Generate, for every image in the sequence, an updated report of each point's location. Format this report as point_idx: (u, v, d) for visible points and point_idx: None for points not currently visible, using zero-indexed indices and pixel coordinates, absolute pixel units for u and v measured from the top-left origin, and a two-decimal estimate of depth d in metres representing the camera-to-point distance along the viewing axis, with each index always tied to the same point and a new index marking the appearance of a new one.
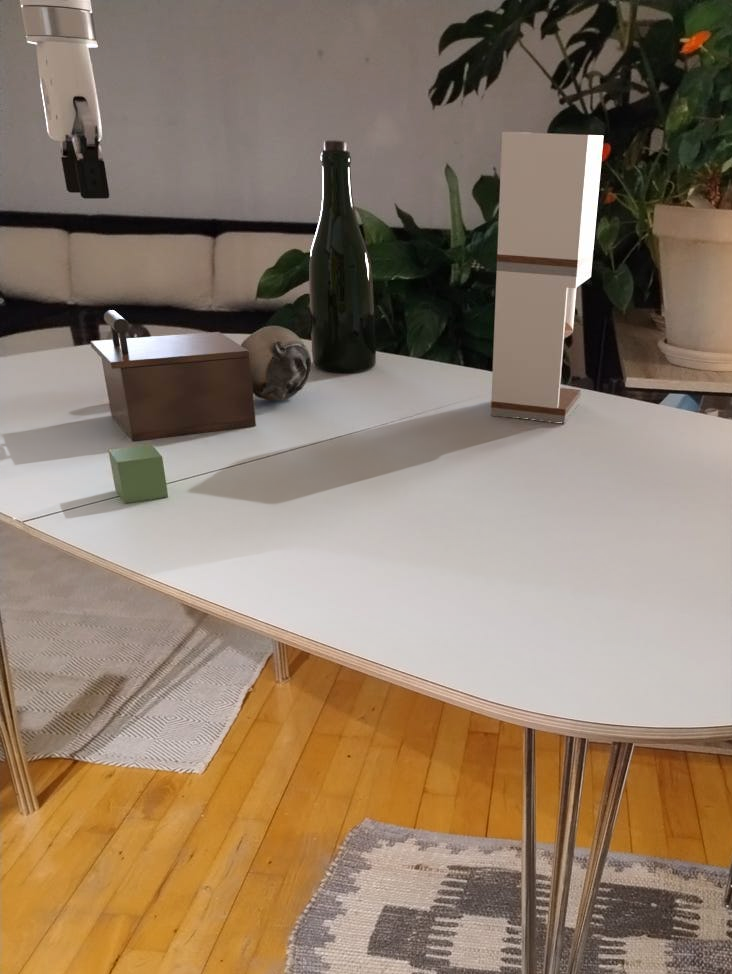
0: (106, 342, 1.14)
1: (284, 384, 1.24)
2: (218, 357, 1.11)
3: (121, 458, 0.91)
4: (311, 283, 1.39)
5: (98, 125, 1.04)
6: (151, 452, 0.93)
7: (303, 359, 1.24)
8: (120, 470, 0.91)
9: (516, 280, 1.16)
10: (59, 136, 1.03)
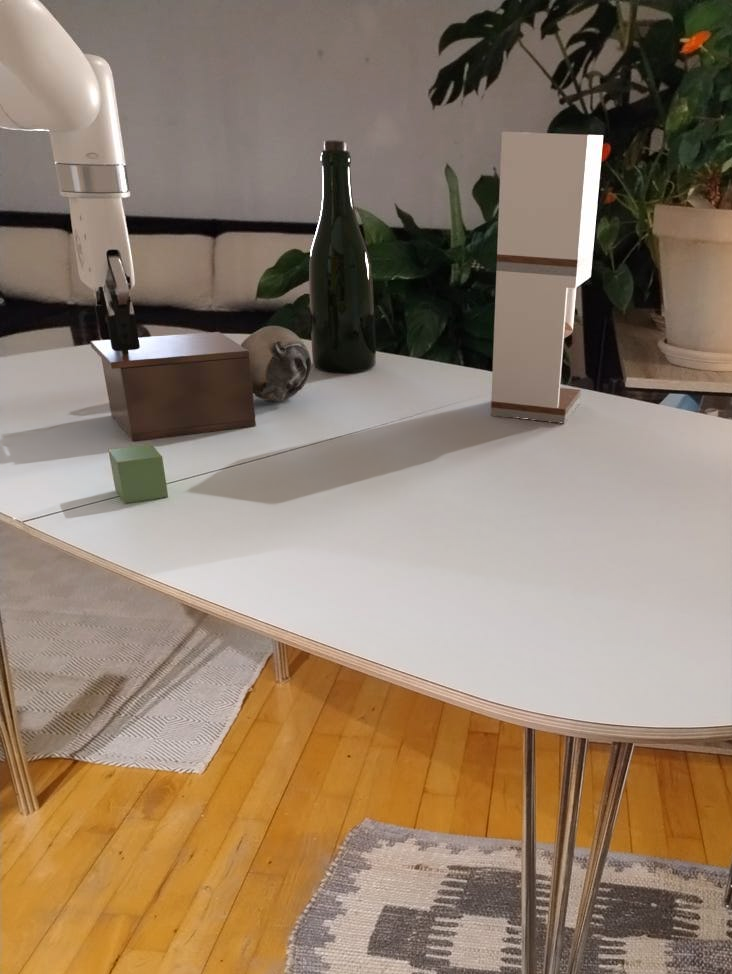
0: (106, 342, 1.14)
1: (284, 384, 1.24)
2: (218, 357, 1.11)
3: (121, 458, 0.91)
4: (311, 283, 1.39)
5: (131, 275, 1.03)
6: (151, 452, 0.93)
7: (303, 359, 1.24)
8: (120, 470, 0.91)
9: (516, 280, 1.16)
10: (92, 287, 1.03)
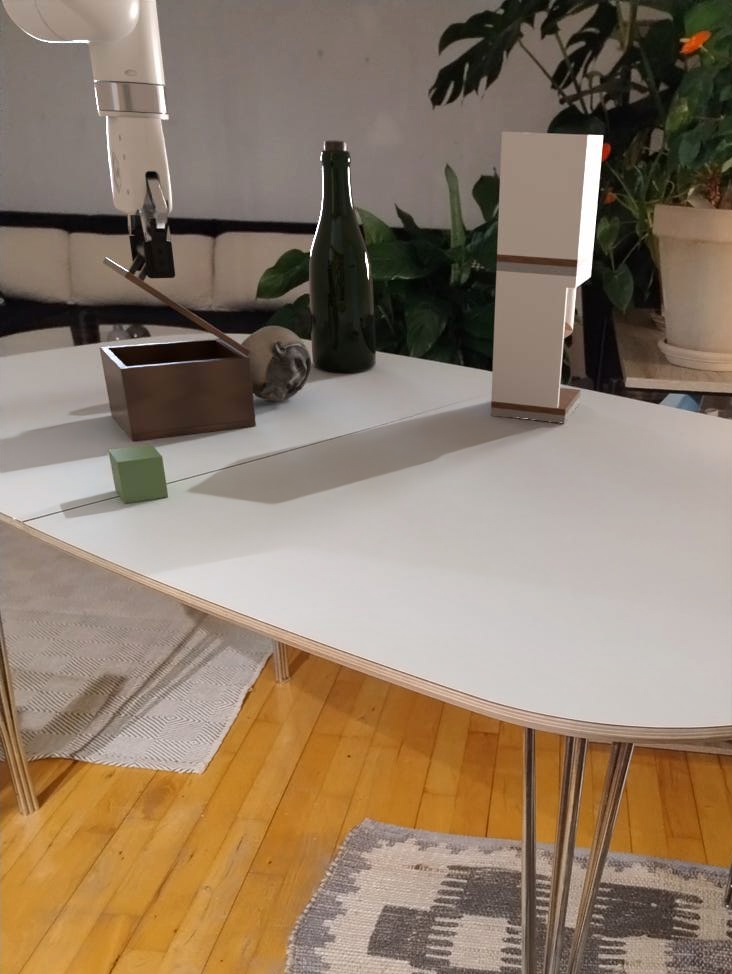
0: None
1: (284, 384, 1.24)
2: (222, 337, 1.10)
3: (121, 458, 0.91)
4: (311, 283, 1.39)
5: (169, 199, 1.02)
6: (151, 452, 0.93)
7: (303, 359, 1.24)
8: (120, 470, 0.91)
9: (516, 280, 1.16)
10: (129, 210, 1.01)
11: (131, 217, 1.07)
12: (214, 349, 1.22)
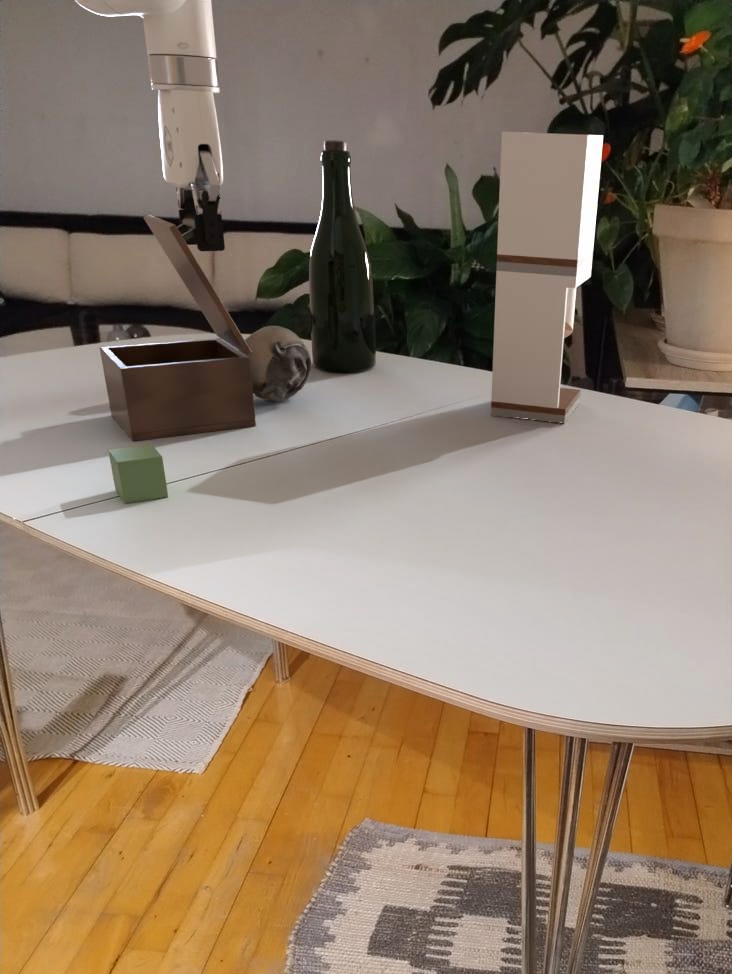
0: None
1: (284, 384, 1.24)
2: (231, 326, 1.10)
3: (121, 458, 0.91)
4: (311, 283, 1.39)
5: (220, 172, 1.03)
6: (151, 452, 0.93)
7: (303, 359, 1.24)
8: (120, 470, 0.91)
9: (516, 280, 1.16)
10: (182, 183, 1.03)
11: (181, 191, 1.09)
12: (214, 349, 1.22)
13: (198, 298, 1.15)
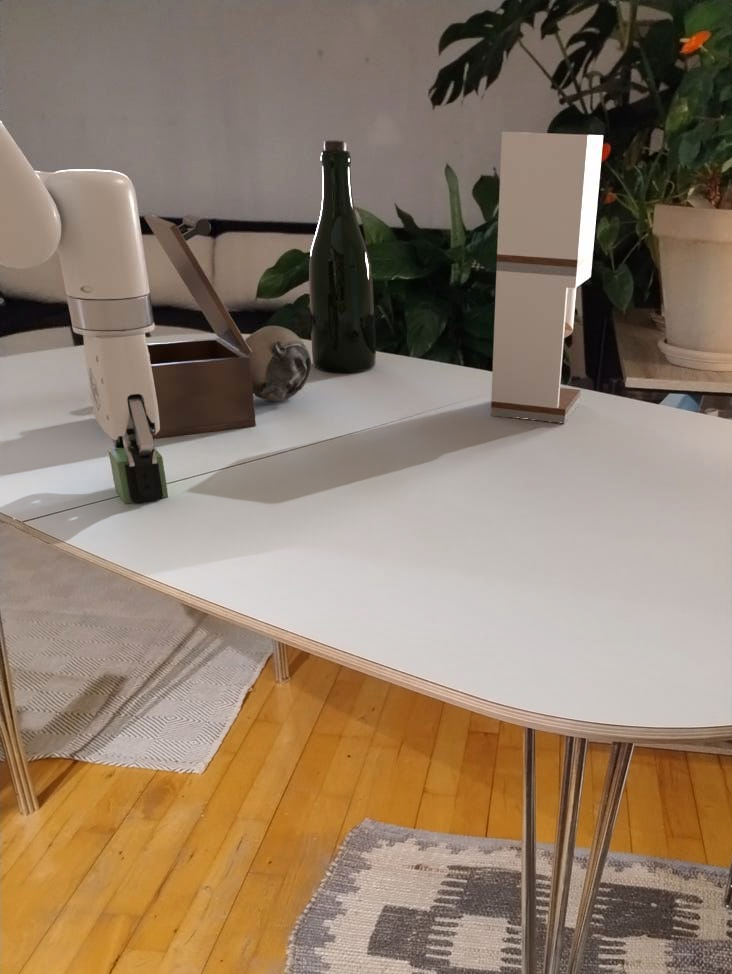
0: None
1: (284, 384, 1.24)
2: (231, 326, 1.10)
3: (121, 458, 0.91)
4: (311, 283, 1.39)
5: (156, 421, 0.88)
6: None
7: (303, 359, 1.24)
8: (120, 470, 0.91)
9: (516, 280, 1.16)
10: (110, 436, 0.87)
11: None
12: (214, 349, 1.22)
13: (198, 298, 1.15)
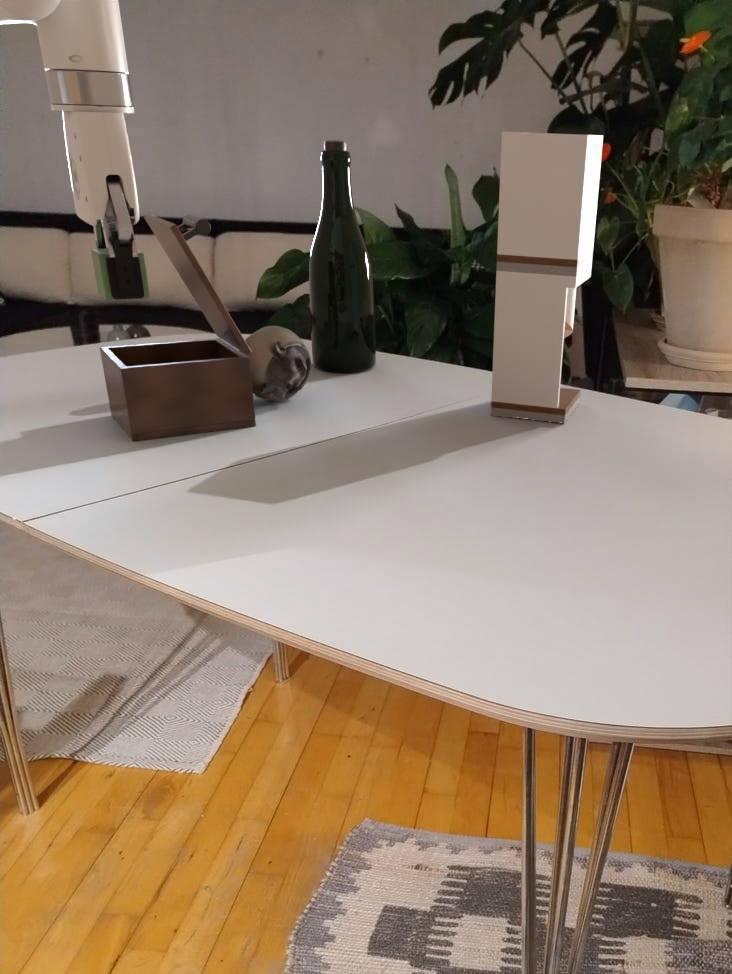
0: None
1: (284, 384, 1.24)
2: (231, 326, 1.10)
3: (103, 252, 0.91)
4: (311, 283, 1.39)
5: (135, 207, 0.88)
6: None
7: (303, 359, 1.24)
8: (101, 263, 0.91)
9: (516, 280, 1.16)
10: (89, 221, 0.87)
11: (97, 228, 0.93)
12: (214, 349, 1.22)
13: (198, 298, 1.15)
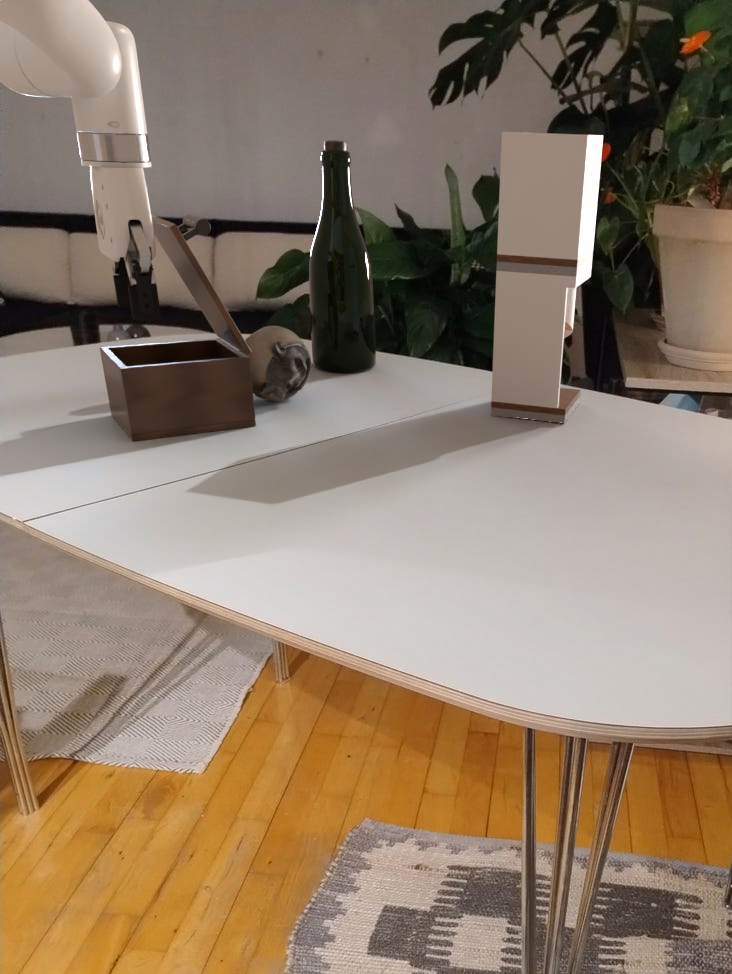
0: None
1: (284, 384, 1.24)
2: (231, 326, 1.10)
3: None
4: (311, 283, 1.39)
5: (152, 246, 1.03)
6: None
7: (303, 359, 1.24)
8: None
9: (516, 280, 1.16)
10: (113, 258, 1.02)
11: None
12: (214, 349, 1.22)
13: (198, 298, 1.15)
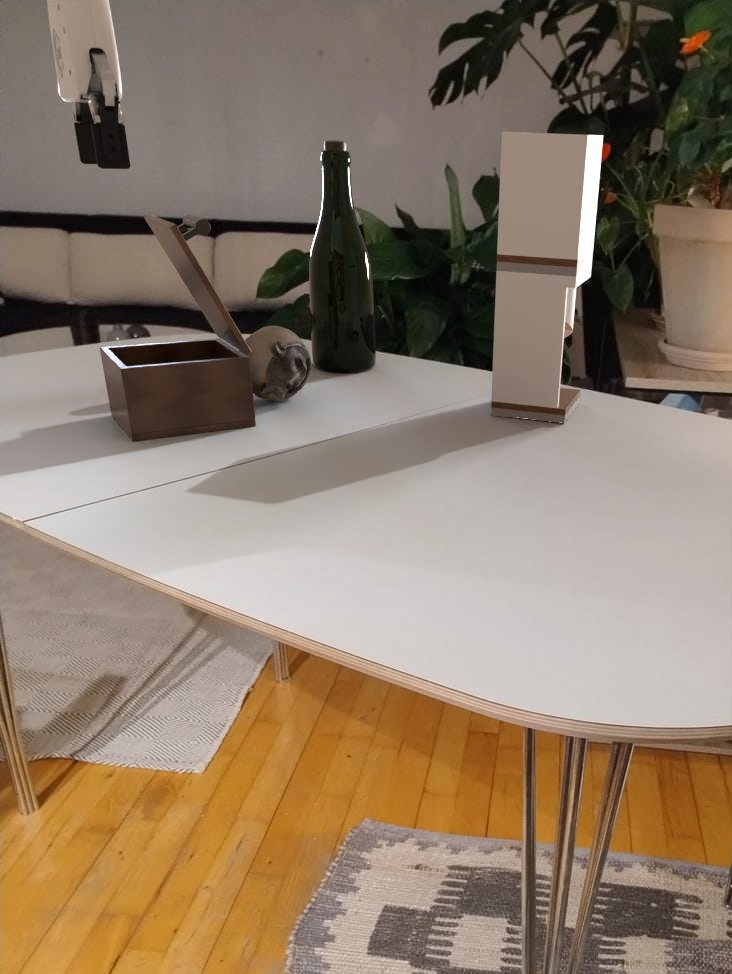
0: None
1: (284, 384, 1.24)
2: (231, 326, 1.10)
3: None
4: (311, 283, 1.39)
5: (118, 83, 0.90)
6: None
7: (303, 359, 1.24)
8: None
9: (516, 280, 1.16)
10: (73, 95, 0.89)
11: (76, 105, 0.96)
12: (214, 349, 1.22)
13: (198, 298, 1.15)
